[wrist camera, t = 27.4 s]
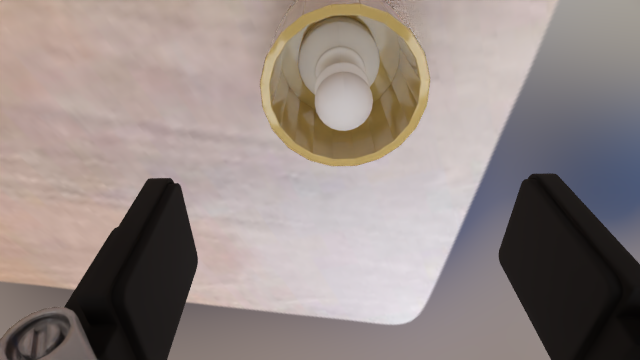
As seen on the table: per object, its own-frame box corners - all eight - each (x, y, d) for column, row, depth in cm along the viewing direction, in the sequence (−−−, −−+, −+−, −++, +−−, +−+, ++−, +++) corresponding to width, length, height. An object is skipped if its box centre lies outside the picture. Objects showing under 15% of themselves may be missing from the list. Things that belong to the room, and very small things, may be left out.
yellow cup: (250, 72, 27) (230, 114, 21) (323, -49, 23) (324, -39, 17) (352, 137, 30) (359, 190, 24) (432, 38, 26) (465, 73, 20)
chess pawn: (376, 91, 27) (398, 157, 20) (302, 96, 27) (295, 163, 20) (377, 12, 24) (402, 53, 17) (295, 18, 25) (283, 61, 17)
